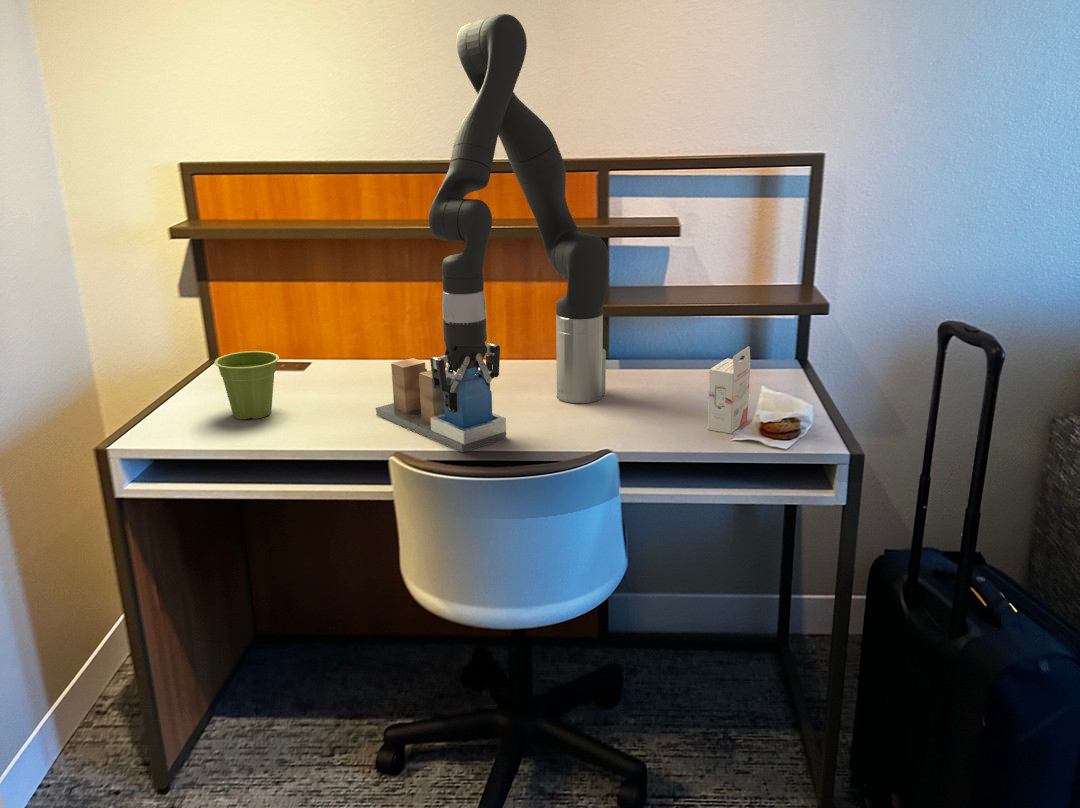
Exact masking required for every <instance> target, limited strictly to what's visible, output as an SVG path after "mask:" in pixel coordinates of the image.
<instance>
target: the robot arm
mask: <svg viewBox="0 0 1080 808" xmlns="http://www.w3.org/2000/svg"><path fill="white" fill-rule="evenodd" d="M527 44H528V43H527V36H526V31H525V28H524V26H523V25H522V23H521V22H520V21H519V19H518V18H517V17H515V16H514V15H512V14H509V13H500V14H496V15H491V16H488V17H484V18H481V19H479V20H474V21H471V22H468V23H466V24H465V25H464V24H463V26H461V28H460V29H459V31H458V32H457V36H456V50H457V54H458V59H459V61H460V64H461V67H462V68H463V70H464V72H465V74H466V75H467V77H468V80H469V82H470V84H471V85H472V87H473V89H474V91H475V92H476V94H477V96H476V97H475V99H474V102H473V103H472V104H471V106H470V108H469V110H468V111H467V113H466V115H465V116H464V118H463V119H462V121H461V123H460V125H459V127H458V128H457V129H458V130H457V132H456V135H455V139H454V142H453V145H452V146H453V147H452V151H451V155H450V156H451V157H450V160H449V165H448V166H449V167H448V170H447V173H446V174H445V177H444V178H443V181H442V183H441V185H440V187H439V189H438V190H437V191H438V192H437V193H436V195H435V197H434V199H433V200H432V203H431V205H430V208H429V212H428V226H429V229H430V232H431V234H432V235H433V236H434V237H435V238H436V239H437V240H440V241H447V242H448V241H449V242H451V241H452V242H465V246H464V250H463V252H461V253H455V254H451V255H448V256H446V257H445V258H443V259H442V260H443V261H442V262H441V275H442V276H441V279H442V280H441V282H442V297H441V298H442V299H441V301H442V302H441V310H442V311H441V313H442V328H443V329H442V332H443V342H444V344H445V350H444V354H443V355H440V356H438V357H436V356H431V357H430V360H429V361H430V369H431V370H432V378H433V386H434V388H435V389H437V390H440V391H442V392H444V399H445V408H446V409H447V410H448V411H450V412H452V413H454V412H457V392H455V391H456V388H457V386H458V383H459V381H461V380H462V377H463V375H464V372H465V369H467V366H468V364H469V361H472V360H475V363H474V366H476V370H477V371H476V372H475V375H476V376H479V377H481V378H483V380H484V381H485V383H486V384H487V386H488V387H489V389H490V390H491V382H492V380H493V379H494V378H498V377H499V376H500V364H501V363H500V359H501V357H500V356H501V346H500V345H498V344H495V343H492V342H487V344H486V341H487V337H488V336H487V335H488V333H487V332H488V331H487V329H488V328H487V306H486V304H487V303H486V296H485V290H484V289H485V287H484V285H485V284H484V263H485V256H486V252H487V247H488V243H489V239H490V236H491V231H492V228H493V227H492V226H493V216H492V211H491V209H490V207H489V206H488V204H487V203H486V202H485V201H483V200H481V199H478V198H477V199H476V198H475V199H474V198H465V197H466V196H467V195H468V194H471V193H473V192H477V191H482V190H483V189H486V188H487V186H488V184H489V182H490V177H491V173H492V167H493V162H494V156H495V154H496V153H495V151H496V146H497V142H498V138H499V140H500V142H501V144H502V147H503V149H504V152H505V154H506V157H507V159H508V161H509V164H510V166H511V168H512V171H513V173H514V175H515V178H516V179H517V182H518V185H519V186H520V188H521V190H522V193H523V194H524V197H525V200H526V202H527V203H528V206H529V209H530V212H531V213H532V215H533V217H534V219H535V222H536V225H537V227H538V231H539V234H540V237H541V240H542V244H543V247H544V251H545V254H546V256H547V260H548V262H549V264H550V266H551V268H552V269H553V270H554V272H556V273H557V274H558V275H559V276H561V277H563V278H567V288H566V289H567V290H566V294H565V296H562V297H560V298H558V299H557V301H556V305H555V311H556V312H555V319H556V320H555V322H556V323H555V325H556V326H555V329H556V330H555V333H556V337H555V338H556V339H555V343H556V345H555V346H556V397H557V399H558V400H559V401H562V402H565V403H572V404H573V403H574V404H585V403H594V402H596V401H599V400H601V398H602V396H605V395H606V379H607V378H606V373H607V372H606V368H607V367H606V365H607V364H606V363H607V362H606V360H607V359H606V358H607V357H606V356H607V351H606V349H605V348H603V331H604V330H603V329H604V328H603V326H604V325H603V324H604V323H603V321H604V320H603V319H604V318H603V317H604V316H603V314H604V309H603V308H604V305H605V303H606V300H607V298H608V287H609V271H610V268H609V267H610V256H609V249H608V247H607V245H606V243H605V241H604V240H603V239H602V238H601V237H599V236H597V235H595V234H590V233H586V232H583V231H581V230H580V229H579V227H578V226H577V224H576V223H575V220H574V218H573V217H572V214H571V211H570V209H569V207H568V203H567V198H566V185H567V183H566V181H567V180H566V179H567V177H566V176H567V175H566V172H567V171H566V166H565V162H564V159H563V156H562V153H561V151H560V149H559V146H558V144H557V141H556V139H555V137H554V135H553V132H552V131H551V129H550V127H548V125H547V124H546V123H545V122H544V121H543V120H542V119H541V118H540V117H539V116H538V115H537V114H536V113H535V112H534V111H532V110H531V109H530V108H529V107H528V106H527V105H525V103H523V101H521V99H519V98H518V96H517V95H516V93H515V92H514V91H515V87H516V84H517V81H518V78H519V76H520V73H521V72H522V71H521V70H522V67H523V65H524V61H525V57H526V53H527V47H528V45H527ZM484 358H485V361H484ZM445 369H446V371H445ZM453 372H454V374H453ZM451 381H452V382H451Z"/></svg>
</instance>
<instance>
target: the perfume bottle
mask: <svg viewBox="0 0 1080 808" xmlns="http://www.w3.org/2000/svg"><path fill="white" fill-rule="evenodd" d="M474 363H475V360H472V361H469V364H468V366H467V369H465V372H464V375H463V377H462V380H461V381H459V383H458V386H457V388H456V391H455V392H457V412H454V413H452V412H450V411H448V410H447V409H446V408H445V399H444V408H445V421H446V422H448V423H451V424H453V425H456V426H458V427H461V428H463V429H466V428H469V427H472V426H475V425H479V424H482V423H485V422H488V421H492V413H493V395H492V393H493V392H492V390H491V388H490V389H489V387H488V386H487V384H486V383H485V381H484V380H483V378H481V377H479V376H476V374H475V372H476V371H477V370H476V366H474ZM451 382H452V381H451Z"/></svg>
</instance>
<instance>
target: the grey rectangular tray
mask: <svg viewBox="0 0 1080 808" xmlns="http://www.w3.org/2000/svg"><path fill="white" fill-rule="evenodd" d="M375 412H376V416H377V415H378V416H377V417H380V418H382V417H383V418H382V419H384V418H385V420H387V421H389V422H391V423H393V422H394V424H396V425H398V426H400V427H403V428H405V429H407V430H409V429H410V430H409V431H412V432H414V431H415V433H416V434H419V435H422V436H423V437H426V438H427V439H430V440H433V441H435V442H437V443H440V444H442V445H444V446H447V447H448V448H451V449H453V450H456V451H458V452H460V453H462V454H463V453H465V452H468V451H472V450H474V449H478V448H480V447H483V446H487V445H490V444H492V443H496V442H499V441H502V440H505V439H507V418H506V417H504V416H501V415H499V414H496V413H493V412H492V421H488V422H485V423H482V424H479V425H475V426H472V427H469V428H466V429H463V428H461V427H458V426H456V425H453V424H451V423H448V422H446V421H445V414H442V415H438V416H435V417H431V423H429V422H427V421H424V420H422V419H421V409H418V410H415V411H411V412H407V413H405V412H403V411H400V410H398V409H396V408H394V402H393V403H390V404H389V403H388V404H386V405H381V406H378V407H376V408H375ZM504 438H505V439H504Z"/></svg>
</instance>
